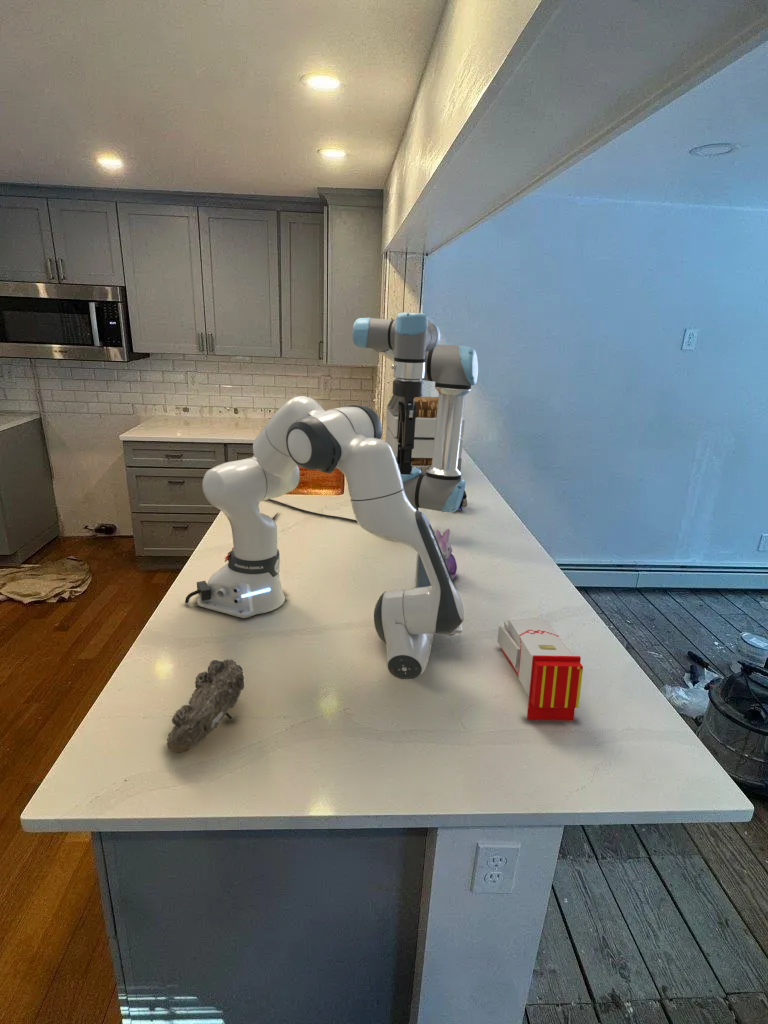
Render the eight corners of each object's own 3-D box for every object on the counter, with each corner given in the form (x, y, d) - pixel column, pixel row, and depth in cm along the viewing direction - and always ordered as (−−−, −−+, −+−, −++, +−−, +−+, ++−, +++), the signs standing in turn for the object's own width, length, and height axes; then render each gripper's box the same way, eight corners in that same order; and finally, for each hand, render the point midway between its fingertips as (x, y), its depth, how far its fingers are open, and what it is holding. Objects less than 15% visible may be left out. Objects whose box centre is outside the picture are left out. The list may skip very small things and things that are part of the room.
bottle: (419, 617, 146) (426, 527, 138) (433, 623, 144) (441, 532, 135) (408, 623, 143) (414, 532, 135) (423, 630, 140) (430, 537, 132)
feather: (285, 507, 224) (287, 503, 224) (267, 531, 198) (270, 526, 197) (281, 504, 224) (284, 500, 223) (263, 528, 197) (265, 524, 197)
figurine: (438, 587, 162) (442, 538, 157) (419, 572, 171) (423, 526, 166) (465, 581, 166) (470, 534, 161) (446, 567, 175) (450, 522, 170)
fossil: (192, 660, 117) (244, 628, 112) (224, 691, 120) (276, 661, 115) (142, 746, 98) (202, 712, 93) (182, 779, 101) (242, 748, 96)
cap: (391, 470, 146) (391, 462, 146) (402, 467, 149) (403, 459, 149) (404, 474, 144) (404, 465, 143) (415, 471, 147) (415, 462, 146)
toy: (543, 604, 136) (592, 662, 106) (538, 656, 138) (584, 727, 109) (493, 603, 135) (528, 661, 106) (489, 655, 138) (522, 726, 109)
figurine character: (467, 516, 223) (461, 500, 237) (469, 499, 220) (463, 483, 233) (450, 516, 223) (446, 499, 236) (452, 498, 220) (447, 483, 233)
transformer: (382, 463, 289) (386, 382, 275) (445, 464, 293) (451, 384, 279) (390, 482, 257) (394, 392, 243) (460, 483, 261) (468, 394, 247)
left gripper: (462, 623, 127) (465, 594, 139) (372, 610, 130) (384, 584, 143) (459, 647, 129) (463, 617, 142) (371, 634, 132) (383, 606, 145)
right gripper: (388, 374, 146) (384, 462, 154) (398, 384, 130) (393, 481, 138) (417, 375, 147) (412, 462, 155) (430, 384, 131) (424, 481, 139)
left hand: (423, 600), depth 142 cm, fingers closed on bottle, 4 cm apart
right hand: (403, 471), depth 147 cm, fingers closed on cap, 4 cm apart
